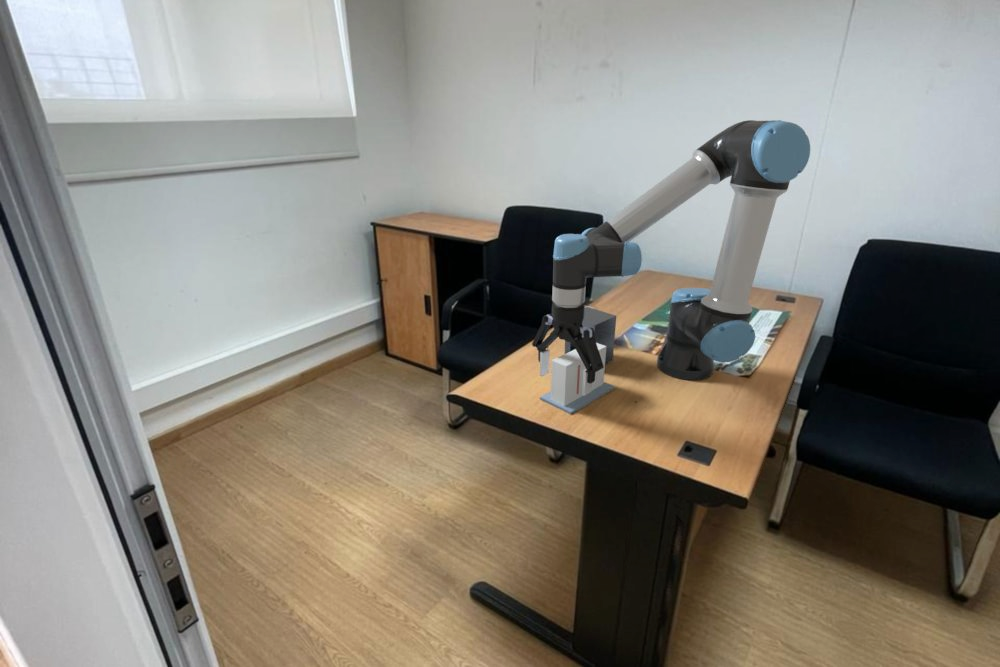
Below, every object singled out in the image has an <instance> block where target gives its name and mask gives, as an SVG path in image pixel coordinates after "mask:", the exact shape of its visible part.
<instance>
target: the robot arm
mask: <svg viewBox="0 0 1000 667" xmlns="http://www.w3.org/2000/svg"><path fill="white" fill-rule="evenodd" d="M810 156H811V142H810V139H809V136H808V135H807V133H806V132H805V130H804V129H803V128H802V127H801V126H800V125H799V124H797V123H794V122H791V121H790V122H789V121H786V120H785V121H784V120H781V119H780V120H779V119H777V120H753V119H752V120H743V121H740V122H737V123H735V124H732V125H730V126H728V127H727V128H725V129H724V130H722V131H720V132H719V133H718V134H716V135H714V136H713V137H712V138H711V139H709V140H707V141H706V142H705V143H704V144H702V145H701V146H700V147H698V148H696V149H695V150H694V151H693V153H692V157H691V159H689V160H688V161H686V162H685V163H683V164H682V165H681V166H679V167H678V168H676V169H675V170H674V171H672V172H671V173H670V174H669V175H667V176H666V177H665V178H663V179H662V180H661V181H659V182H657V184H655V185H654V186H652V187H651V188H649V189H648V190H647V191H645V192H643V194H642V195H640V196H639V197H638V198H636V199H635V200H633V201H632V202H631V203H629V204H628V205H626V206H625V207H624V208H622V209H621V210H620V211H619V212H617V213H616V214H614V215H613V216H612V217H610V218H609V219H607V220H606V221H605V222H602V223H601V225H599V226H598V227H590V228H587V229H585V230H584V231H582V233H576V234H575V233H563V234H560V235H559V236H557V237H556V238H555V240H554V247H553V255H552V258H553V260H552V262H553V265H552V266H553V269H552V294H551V295H552V296H551V301H552V303H551V313H549V314H546V315H544V316H542V319H541V324H540V326H539V327H538V330H537V332H536V334H535V337H534V339H533V341H532V343H531V346H532V347H533V348H536V350H537V351H538V354H537V355H538V358H537V359H538V363H539V376H540V377H543V376H545V375H546V376H547V375H548V374H550V349H548V348H549V347H550V346H551V345H552V343H554V342H555V340H557V339H560V340H562V341H564V342H565V341H567V342H570V343H571V344H572V346H574V347H575V349H576V351H577V352H578V354H579V356H580V358H581V360H582V362H583V364H584V366H585V367H586V369H585V370H584V371H583V387H582V395H584V396H585V395H587V394H589V393H590V392H592V383H593V382H594V381H595V372H597V371H599V370H601V369H602V368H604V366H603V363H602V359H601V356H600V353H599V350H598V347H597V344H596V341H595V338H594V329H593V328H589V329H587V328H583V325H582V321H583V319H584V309H585V306H586V304H585V302H586V289H587V288H586V286H587V278H609V277H613V278H615V277H622V278H623V277H630V276H635V275H636V274H638V273H639V271H640V270H641V267H642V260H643V258H642V250H641V248H640V247H641V246H640V245H639V244H638V243H637V242H631V241H633V240H634V239H635V238H637V237H638V236H639V235H640V234H642V233H644V232H645V231H646V230H648V229H649V228H651V227H652V226H653V225H654V224H656V223H658V222H659V221H661V220H662V219H663V218H664V217H666V216H668V215H669V214H670V213H672V212H673V211H674V210H676V209H677V208H678V207H680V206H681V205H683V204H684V203H686V202H687V201H688V200H690V199H691V198H693V197H694V196H696V195H697V194H698V193H699V192H701V191H702V190H704V189H705V188H707V187H708V186H710V185H719V183H721V182H722V181H724V180H725V179H728V178H730V181H729V186H730V187H731V189H732V190H733V192H734V194H733V195H734V196H733V200H732V203H731V207H730V212H729V215H728V219H727V223H726V227H725V231H724V235H723V240H722V243H721V247H720V251H719V253H718V254H719V255H718V259H717V262H716V267H715V272H714V275H713V278H712V283H711V287H710V288H706V287H705V288H704V287H683V288H678V289H676V290H675V291H673V293H672V297H671V300H670V307H669V308H670V310H669V317H668V325H667V335H666V340H665V342H664V344H663V346H662V348H661V349H660V351H659V353H658V355H657V360H656V367H657V368H658V370H660V371H661V372H663V373H664V374H665V375H668V376H670V377H674V378H677V379H681V380H682V379H683V380H688V381H689V380H693V381H694V380H695V381H696V380H703V379H708V378H709V377H711V376H712V375H713V374H714V370H715V362H718V363H730V362H734V361H736V360H739V359H740V358H741V357H744V356H745V355H746V354H748V352H749V351H750V350H751V349H752V348H753V345H754V343H755V340H756V332H755V330H754V327H753V326H752V325H751V324H750V320H751V317H752V313H753V307H752V306H751V304H750V303H749V298H750V294H751V291H752V288H753V284H754V281H755V278H756V274H757V270H758V266H759V263H760V260H761V256H762V252H763V249H764V245H765V241H766V238H767V234H768V232H769V228H770V225H771V224H770V223H771V220H772V218H773V213H774V210H775V207H776V203H777V200H778V198H779V197H780V196H782V195H783V194H785V193H786V192H787V191H788V189H789V186H790V182H791V181H792V180H795V178H797V177H798V176H799V174H800V173H801V174H802V172H804V170H805V168H806V167H807V165H808V162H809V160H810ZM551 326H552V327H553V330H552V331H551V332H550V333H549V335H548V334H547V333H548V332H549V330H550V329H551ZM581 333H582V334H581ZM547 335H548V336H547ZM546 336H547V337H546ZM545 337H546V338H545ZM577 338H578V339H579V340H578V341H575V340H576V339H577ZM590 364H591V365H590Z"/></svg>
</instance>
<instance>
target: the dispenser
mask: <svg viewBox="0 0 1000 667" xmlns="http://www.w3.org/2000/svg"><path fill="white" fill-rule="evenodd" d="M593 308H594V307H592V308H589V307H587V308H585V309H584V319H583V321H582V325H583V328H587V329H589V328H593V329H594V338H595V341H596V343H599V344H601V345H604V346H606V358H605V365H606V364H608V363H610V362H612V361H613V359H614V349H615V348H614V347H615V339H616V338H615V336H616V326H617V324H616V323H617V315H615V314H612V313H609V312H606V311H602V310H599V309H596V308H594V309H593ZM581 334H582V333H581ZM578 340H579V339H578V338H577V339H576V340H575V341H578ZM573 350H575V347H574V346H572V344H571V343H570V342H567V341H565V340H564V354H566V353H568V352H570V351H573Z"/></svg>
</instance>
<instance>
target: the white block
mask: <svg viewBox="0 0 1000 667" xmlns="http://www.w3.org/2000/svg"><path fill="white" fill-rule="evenodd" d="M596 344H597V347H598V350H599V353H600V356H601V359H602V363H603V366H604V368H602V369H601V370H599V371H597V372H595V381H594V382H593V383H592V390H594V389H596V388H597V387H599V386H601V385H603V383H604V382H605V368H606V364H605V358H606V346H604V345H601V344H599V343H596ZM590 365H591V364H590ZM585 369H586V367H585V366H584V364H583V362H582V360H581V358H580V356H579V354H578V352H577V351H576V349H575V350H573V351H570V352H568V353H566V354H565V353H563V354H562V355H560V356H558V357H555V358H554V359H551V370H550V371H551V376H550V378H551V379H550V391H551V400H552V401H554V402H556V403H558V404H561V405H563V406H566V405H568V404H569V403H571V402H573V401H575V400H576V399H578V398H580V397H582V396H583V395H582V387H583V371H584V370H585Z"/></svg>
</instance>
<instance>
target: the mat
mask: <svg viewBox="0 0 1000 667" xmlns="http://www.w3.org/2000/svg"><path fill="white" fill-rule="evenodd" d="M614 389H615V386H614V385H613V384H610V383H608V382H605V381H604V383H603V385H601V386H599V387H597V388H596V389H594V390H592V392H590V393H589V394H587V395H585V396H584V395H583V396H582V397H580V398H578V399H576V400H575V401H573V402H571V403H569V404H568V405H566V406H563V405H561V404H558V403H556V402H554V401H552V400H551V390H550V391H548V392H547V393H545V394H543V395H541V396H539V400H541V401H543V402H545V403H547V404H549V405H551V406H553V407H555V408H557V409H559V410H561V411H564V412H566V413H567V414H569V415H572V414H573V413H575V412H577V411H579V410H580V409H582V408H584V407H586V406H587V405H590V403H592V402H594V401H596V400H597V399H599V398H601V397H602V396H604V395H606V394H607V393H609V392H610V391H611V392H612V390H614Z"/></svg>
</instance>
